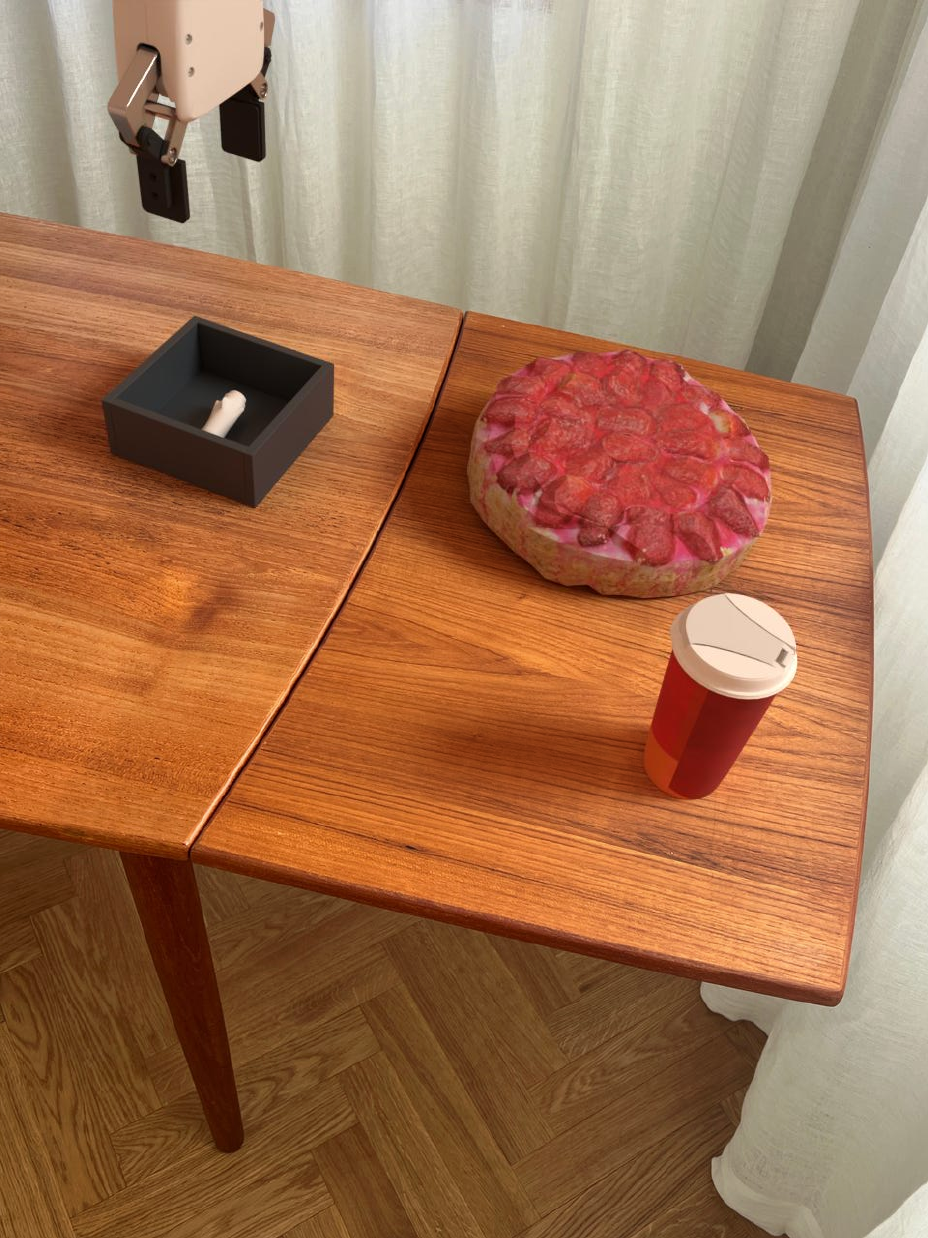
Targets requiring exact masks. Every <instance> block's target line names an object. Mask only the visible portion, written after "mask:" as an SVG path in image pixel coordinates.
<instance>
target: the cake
mask: <svg viewBox="0 0 928 1238" xmlns="http://www.w3.org/2000/svg"><path fill="white" fill-rule="evenodd" d="M466 476H467V481H468V484H469V502H470V504H471V505H472V507H473V508H474V510H475V511H476V513H477V514H478V516H479V517H480V519H481V520H482V521H483V522H484V523H485V524H486V526H487V527H488V528H489V530H491V531H492V532H493V533H494V534H495V535H496V536H497V537H498V538H499V539H500V541H502V542H503V543H504V544H505V545H507V547H508V548H509V549H511V550H512V551H513V552H514V553H515V554H516V555H517V556H519V557H520V558H522V559H523V560H525V561H526V562H527V563H528V564H530V565H531V566H532V567H533V568H534V569H535V570H536V571H537V572H538V573H539V574H540V575H541V576H542V577H543V578H544V579H546V580H548V581H551V582H554V583H557V584H561V585H563V586H566V587H570V586H585V585H586V586H588V587H590V588H592V589H593V590H595V591H596V592H598V593H599V594H601V595H603V596H604V595H605V596H627V597H635V598H640V599H648V598H649V599H650V598H662V597H672V596H673V597H674V596H675V597H676V596H682V595H683V596H684V595H686V594H687V595H689V594H693V593H697V592H698V593H699V592H701V591H705V590H709V589H713V588H715V587H717V585H719V584H720V583H721V582H722V581H723V580H724V579H725V578H726V577H727V576H728V575H729V574H731V573H733V572H734V571H735V570H736V569H738V568H739V567H740V566H741V565H742V562H743V561H744V559H745V558H746V557H747V555H748V553H749V552H750V550H751V549H752V548H753V546H754V545H755V544H756V543H757V542H758V540H759V539H760V538H761V537H762V534H763V532H764V529H765V527H766V526H767V522H768V519H769V516H770V513H771V509H772V508H771V507H772V502H773V489H772V488H773V487H772V479H771V478H772V477H771V469H770V459H769V455H768V454H766V453H765V452H764V450H762V448H761V447H760V446H759V444H758V441H757V440H756V438H755V435H754V434H753V432H752V430H751V429H750V427H749V425H748V423H747V422H746V420H745V419H744V418H743V417H742V416H740V415H739V414H738V413H737V412H735V411H734V410H733V409H732V408H731V407H730V406H729V405H728V403H727V402H726V401H725V400H724V398H723V397H722V396H721V395H720V394H719V393H718V392H716V391H714V390H713V389H711V388H709V387H708V386H705V385H704V384H701V383H700V382H699V381H697V380H696V379H694V378H692V376H691V375H690V374H689V373H688V371H687V369H685V368H684V366H683V365H682V364H681V363H679V362H677V361H674V360H671V359H668V358H654V359H653V358H651V357H648V356H644V355H642V354H640V353H638V352H636V351H634V350H633V349H631V348H628V349H623V350H617V351H616V350H615V351H610V352H603V353H598V352H590V351H589V352H588V351H578V352H573V353H568V354H564V355H560V356H556V357H545V356H538V357H536V358H535V359H533V360H532V361H530V362H528V363H527V364H526V365H525V366H523V367H522V368H520V369H518V370H516V371H515V372H514V373H513V372H512V373H511V374H510V375H508V376H506V377H503V378H502V379H499V380H498V384H497V386H496V388H495V390H494V392H493V394H492V395H491V397H490V398H489V400H488V401H487V403H486V404H485V406H484V407H483V408H482V410H481V412H480V414H479V416H478V417H477V420H476V422H475V424H474V427H473V433H472V436H471V442H470V452H469V456H468V462H467V467H466Z"/></svg>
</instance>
